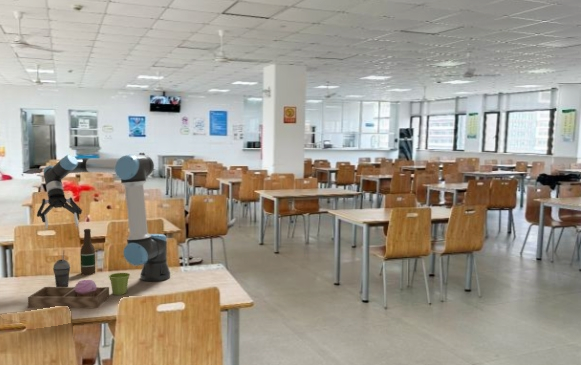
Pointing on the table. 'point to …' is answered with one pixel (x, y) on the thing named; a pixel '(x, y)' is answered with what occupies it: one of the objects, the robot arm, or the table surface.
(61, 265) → the beverage cup
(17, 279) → the table surface
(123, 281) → the plant pot
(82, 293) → the cupcake
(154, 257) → the robot arm
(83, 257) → the beer bottle
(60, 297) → the tray
